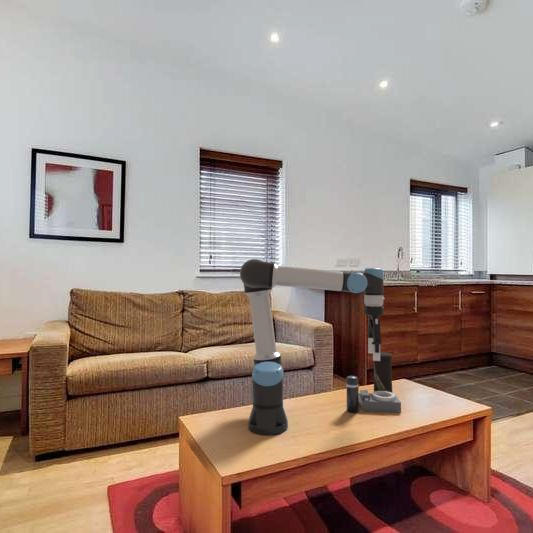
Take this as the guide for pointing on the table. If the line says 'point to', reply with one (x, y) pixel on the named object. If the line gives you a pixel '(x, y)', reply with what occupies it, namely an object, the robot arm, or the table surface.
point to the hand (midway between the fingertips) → (373, 356)
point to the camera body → (379, 401)
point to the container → (383, 373)
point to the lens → (352, 394)
